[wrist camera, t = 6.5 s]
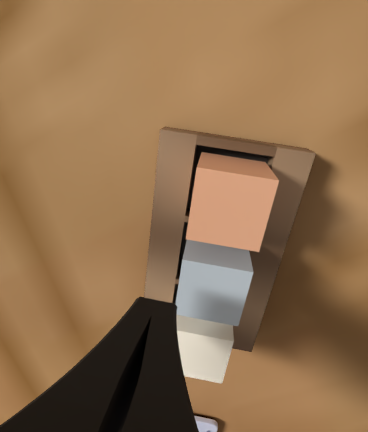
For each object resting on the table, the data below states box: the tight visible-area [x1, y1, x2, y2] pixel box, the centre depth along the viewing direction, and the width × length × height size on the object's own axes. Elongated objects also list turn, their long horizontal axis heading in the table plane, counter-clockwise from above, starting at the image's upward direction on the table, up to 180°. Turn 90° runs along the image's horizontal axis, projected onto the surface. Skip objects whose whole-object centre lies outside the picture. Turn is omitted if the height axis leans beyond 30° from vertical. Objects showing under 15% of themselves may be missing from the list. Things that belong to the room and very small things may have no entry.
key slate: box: [176, 240, 253, 326], centre depth 13 cm, size 3×3×3 cm
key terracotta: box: [186, 152, 279, 252], centre depth 11 cm, size 3×3×3 cm
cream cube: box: [177, 315, 234, 384], centre depth 14 cm, size 3×3×3 cm
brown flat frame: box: [144, 127, 316, 352], centre depth 14 cm, size 12×7×1 cm, turn 173°
